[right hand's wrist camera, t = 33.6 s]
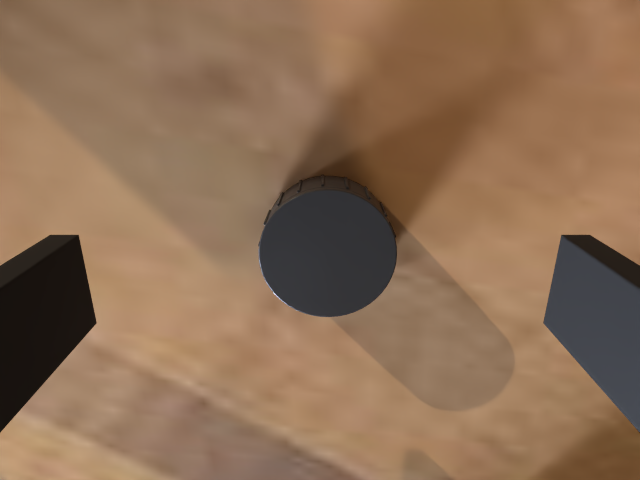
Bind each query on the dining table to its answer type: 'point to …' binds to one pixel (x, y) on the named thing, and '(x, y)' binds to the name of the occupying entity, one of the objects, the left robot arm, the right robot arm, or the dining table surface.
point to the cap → (327, 247)
